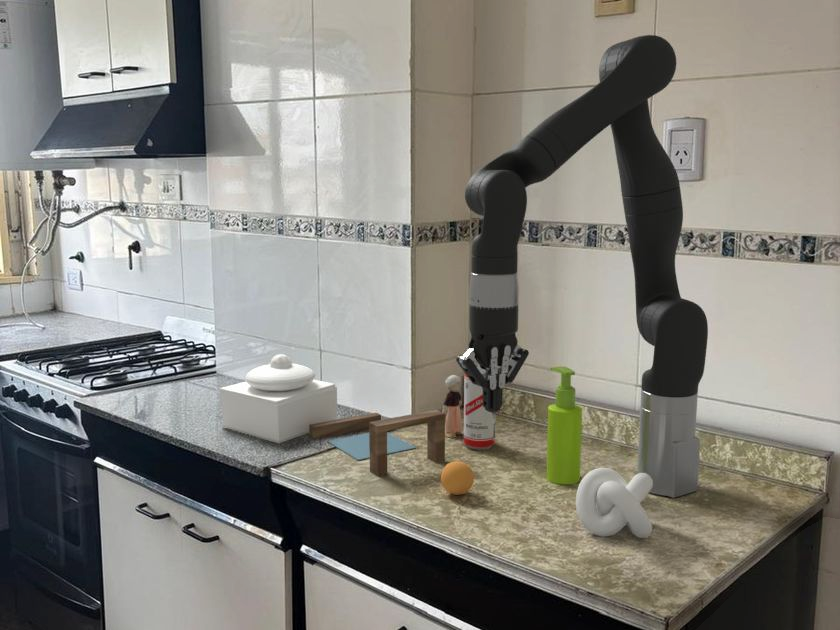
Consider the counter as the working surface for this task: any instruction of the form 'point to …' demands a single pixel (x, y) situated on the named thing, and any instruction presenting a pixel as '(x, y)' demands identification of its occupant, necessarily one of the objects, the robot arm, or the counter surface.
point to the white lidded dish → (278, 401)
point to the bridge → (381, 427)
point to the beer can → (477, 418)
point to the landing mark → (360, 445)
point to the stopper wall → (342, 425)
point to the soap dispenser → (564, 433)
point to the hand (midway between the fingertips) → (492, 410)
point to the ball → (457, 478)
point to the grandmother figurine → (453, 407)
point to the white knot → (613, 503)
